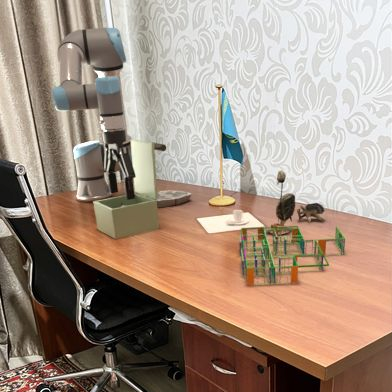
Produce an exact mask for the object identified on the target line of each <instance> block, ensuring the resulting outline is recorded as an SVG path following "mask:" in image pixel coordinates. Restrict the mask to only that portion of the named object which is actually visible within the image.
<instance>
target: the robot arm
mask: <svg viewBox="0 0 392 392" xmlns="http://www.w3.org/2000/svg"><path fill="white" fill-rule="evenodd" d="M56 53H57V54H56V57H57V60H58V63H59V85H57V86H53V88H52V89H51V92H52V93H51V94H52V100H53V104H54V108H55V110H56V111H58V112H66V113H67V112H72V111H84V110H85V111H86V110H98V111H99V118H100V120H99V124H100V126H101V130H103V131H102V139H103V140H102V141H103V143H101V142H100V141H99V140H91V141H86V142H83V143H79V144H76V145H74V147H73V159H74V163H75V168H76V169H75V170H76V175H77V182H78V183H77V190H76V199H77V201H78V202H83V203H93V201H99V200H104V199H109V198H112V194H114V193H119V189H118V182H117V181H118V180H117V174H116V173H117V172H122V175H123V176H124V178H123V181H124V188H125V195H126V197H127V200H130V199H135V195H134V193H135V186H134V178H135V177H136V175H135V172H134V169H133V163H132V151H131V140H133V139H132V136H131V135H129V134H128V127H127V119H126V110H125V102H124V101H125V100H124V94H123V93H124V92H123V85H122V77H121V73H122V71H123V70H124V63H126V62H127V57H126V52H125V48H124V44H123V39H122V35H121V31H120V30H119V29H118V28H116V27H97V28H96V27H95V28H86V29H77V30H74V31H72V32H69V33H68V34H66V36H65V37H64V38H63V39H62V40H61V41H60V42H59V45H58V47H57V52H56ZM83 66H92V68H93V71H94V72H95V73H96V74H97V75H98V77H96V78H95V80H94V83H84V84H83ZM105 173H106V174H107V179H108V183H107V180H106V177H105Z"/></svg>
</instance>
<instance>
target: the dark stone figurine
mask: <svg viewBox="0 0 392 392" xmlns="http://www.w3.org/2000/svg"><path fill="white" fill-rule="evenodd" d="M286 177H287V175H286V172H284V171H283V170H279V171H278V172H277V176H276V180H277V182H276V184H277V185H278V186H279V184H281V186H280V189H281V191H280V197H279V199H278V201H277V203H276V207H275V216H276V218H278V220H277V223H271V224H270V227H285V224H286V222H287V221H288V220H290V222H293V219H292V216H294V213H295V210H296V209H295V208H296V194H297V193H295V194H293V193H290V192H287V193H286V194H285V193H284V195H283V187H284V183H285V181H286ZM279 221H280V222H279ZM273 229H281V228H268V229H265V230H266V231H265V233H268V232H267V230H273ZM282 229H286V228H282ZM269 233H270V234H273V232H269ZM289 233H290V231H283V230H282V232H281V235H283V234H289ZM278 236H280V230H278Z"/></svg>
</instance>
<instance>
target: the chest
mask: <svg viewBox="0 0 392 392" xmlns="http://www.w3.org/2000/svg"><path fill="white" fill-rule="evenodd" d="M134 195H135V199H130V200H127V197H126V194H124V195H119V196H114V197H110V198H108V199H104V200H99V201H93V202H92V204H93V208H94V215H95V222H96V229H97V230H98V231H100V232H102V233H104V234H105V235H107V236H109V237H111V238H112V239H115V240H119V239H123V238H126V237H131V236H135V235H140V234H143V233H148V232H152V231H157V230H160V220H159V212H158V211H159V210H158V207H157V200H154V199H151V198H148V197H146V195H143V194H140V193H137V192H134ZM121 203H122V204H123V205H127V206H124V207H121V206H122V205H121ZM132 204H133V205H132Z"/></svg>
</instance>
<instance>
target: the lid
mask: <svg viewBox="0 0 392 392" xmlns="http://www.w3.org/2000/svg"><path fill="white" fill-rule="evenodd" d="M131 151H132V163H133V169H134V172H135V175H136V177H135V178H133V186H134V193H137V194H140V195H143V196H148V197H151V198H154V199H158V197H157V193H158V184H157V183H158V182H157V170H156V168H157V167H156V153H155V152H156V151H159V152H165V151H167V145H166V144H164V143H158V142H148V141H147V142H146V141H142V140H137V139H132V140H131Z"/></svg>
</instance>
